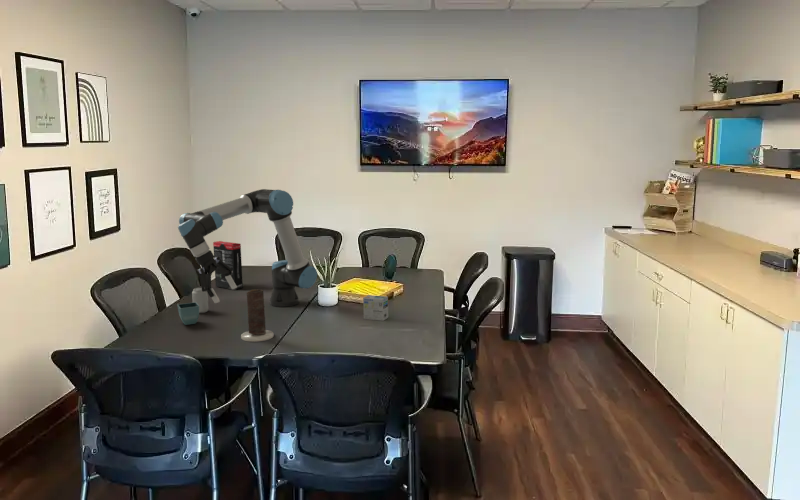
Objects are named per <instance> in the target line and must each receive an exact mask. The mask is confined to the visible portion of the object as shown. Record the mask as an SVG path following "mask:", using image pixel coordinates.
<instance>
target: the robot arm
mask: <svg viewBox="0 0 800 500" xmlns="http://www.w3.org/2000/svg"><path fill="white" fill-rule="evenodd" d="M293 208H294V200H293V197H292V195H291V194H290V193H289V192H288V191H285V190H281V189H266V188H262V189H258V190H254V191H251V192H248V193H245V194H241V196H239V198H236V199H233V200H230V201H227V202H223V203H220V204H217V205H214V206H211V207H208V208H205V209H201V210H198V211H195V212H187V213H183V214H181V215H180V217H179V220H178V224H179V225H178V226H177V228H178V232H179V234H180V236H181V237H182V239H183V240H184V242H185V243H186V245H187V247H188V250H189V251H190V252H191V254H192V256H193V257H194V258H195V261H196V263H197V264H198V265H199V266H200V267H201V268H199V269H196V272H197V274H198V277H199V282H200V288H202V291H203V292H204V291H205V292H206V291H207V292H208V295H209V296H208V297H210V298H211V300H212V301H213V303H214V304H217V303H220V302H221V300H220V298H219V296H218V295H217V293H216V291H215V290H214V288H212V275H213V273H215V271H218V272H220V273H222V274H224V275H226V277H225V278H226V280H227V281H228V283H229V285H230V287H231V288H232V289H235V288H237V286H236V284H235V282H234V279H233V277H232V276H231V274H232V269H231V268H230V267H229V266H228V265H226V264H225V263H224V262H223V261H222V260H221V259H220V257H216V258H214V252H212V250H210V249H211V248H210V246H209V244H208V242H207V241H206V239H205V237H206V236H208V235H209V234H211V233H213V232H214V231H217V230H218V229H219V228H221V227H222V226H223V225H224V220H228V219H231V218H233V217H237V216H240V215H243V214H246V215H251V214H252V213H253V214H254V213H263V214H267V217H268V220H269V221H270V222H272V223H273V225H274V227H275V230H276V233H277V236H278V239H279V242H280V245H281V247H282V251H283V253H284V255H285V258H286V260H285V259H282V260H277V261H274V262H273V263H272V264H271V279H272V281H271V282H272V291H271V295H270V298H269V305H270V306H273V307H277V308H279V307H283V308H284V307H292V306H297V305H298V304H299V303H300V298H299V295H298V292H297V291H296V290H297V289H296V288H300V289H310V288H311V287H313V286H314V285H315V283H316V280H317V278H318V271H317V269H316V268H315V267H314V266H313V265H310V261H309V259H308V258H307V257H305V256H304V253H303V250H302V247H301V245H300V241H299V239H298V235H297V233H296V230H295V227H294V225H293V222H292V218H291V216H292V214H293V211H292V210H293ZM216 263H217V264H218V265H217V264H216ZM232 289H231V290H232Z"/></svg>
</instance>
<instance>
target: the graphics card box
mask: <svg viewBox="0 0 800 500" xmlns="http://www.w3.org/2000/svg"><path fill="white" fill-rule="evenodd" d="M212 245H213V255H214V258H216V257H220V259H221V260H222V261H223V262H224V263H225V264H226V265H228V266H229V267H230V268H231V269H232V274H231V276H232V277H233V279H234V282H235V284H236V286H237V288H235V289H232V288H231V287H230V285H229V283H228V281H227V280H226V278H225V277H226V275H224V274H222V273H220V272H218V271H214V276H215V277H214V279H215V287H216V288H217V287H218V288H222V289H226V290H227V289H228V290H233V291H235V290H236V291H237V290H240V289H243V287H244V286H243V285H244V284H243V267H242V248H241V246H242V245H241V243H238V242H237V243H236V242H229V241H222V240H219V241H214V242H213V243H212ZM216 264H217V263H216ZM217 265H218V264H217Z"/></svg>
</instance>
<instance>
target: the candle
mask: <svg viewBox="0 0 800 500" xmlns="http://www.w3.org/2000/svg"><path fill="white" fill-rule="evenodd" d="M264 296H265V295H264V289H257V288H256V289H255V288H254V289H251V290H249V291H247V292H246V301H247V303H246V304H247V306H246V307H247V325H248V326H247V327H248V331H249V333H250V334H254V335H258V334H266V330H267V329H266V327H267V326H266V316H265V299H264Z"/></svg>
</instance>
